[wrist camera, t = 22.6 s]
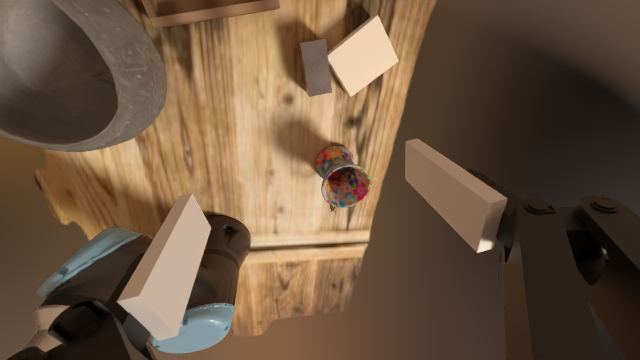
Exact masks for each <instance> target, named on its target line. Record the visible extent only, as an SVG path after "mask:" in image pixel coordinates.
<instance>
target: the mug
mask: <svg viewBox="0 0 640 360" xmlns="http://www.w3.org/2000/svg"><path fill="white" fill-rule="evenodd" d="M316 170H317V173H318V174H319V175H320V176H321V177H322V178H323V179H324V180H323V183H322V188H321V190H322V195H323V197H324V199H325V200H326V201H327V202H328V203H329V204H330V209H331V211H333V212H335V211H336V210H337V208H338V207H341V208H344V207H350V206H353V205H355V204H357V203H359V202H360V201H361V200H363V199H364V198H365V196H366V195H367V193H368V192H369V189H370V185H371V181H370V176H369V174H368V173H367V171H366V170H365V169H364V168H362V167H360V166H358V165H355V164H354V158H353V155H352V153H351V152H350V151H349V150H348V149H346V148H345V147H342V146H332V147H329V148H327V149H325V150H324V151H322V152H321V153H320V155H319V156H318V158H317V161H316ZM333 206H334V207H333Z"/></svg>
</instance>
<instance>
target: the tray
mask: <svg viewBox="0 0 640 360" xmlns="http://www.w3.org/2000/svg"><path fill="white" fill-rule="evenodd" d="M141 1H142V3H143V5H144V8H145V10H146V12H147V15H148V17H149V19H150V22H151V24H152V26H153V27H158V28H165V27H171V26H177V25H183V24H189V23H196V22H202V21H208V20H214V19H220V18H226V17H232V16H238V15H245V14H251V13H257V12H263V11H269V10H275V9H279V7H280V5H279V0H141Z"/></svg>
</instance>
